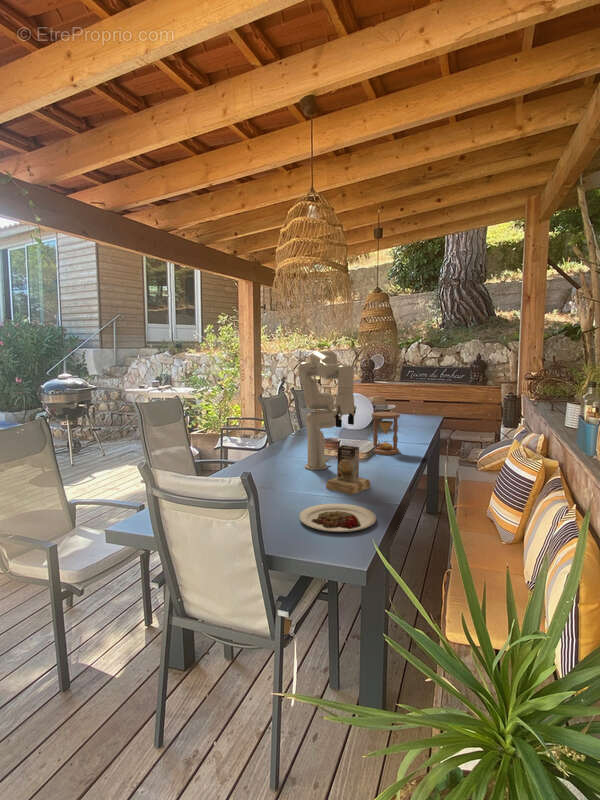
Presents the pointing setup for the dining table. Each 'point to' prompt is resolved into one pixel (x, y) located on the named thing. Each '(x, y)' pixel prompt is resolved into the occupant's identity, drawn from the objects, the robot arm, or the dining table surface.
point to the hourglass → (385, 425)
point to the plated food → (337, 517)
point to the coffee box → (348, 463)
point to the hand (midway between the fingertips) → (344, 425)
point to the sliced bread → (348, 485)
